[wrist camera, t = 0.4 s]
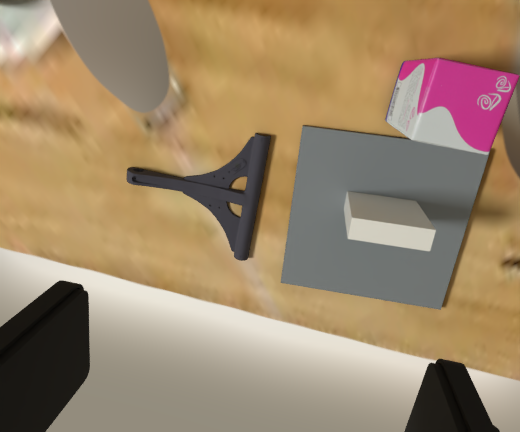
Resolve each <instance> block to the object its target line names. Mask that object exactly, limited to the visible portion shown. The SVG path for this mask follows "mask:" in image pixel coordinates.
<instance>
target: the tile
mask: <svg viewBox="0 0 520 432" xmlns="http://www.w3.org/2000/svg"><path fill="white" fill-rule="evenodd" d="M344 215H345V223H346V230H347V238H348V239H352V240H358V241H365V242H371V243H378V244H384V245H391V246H397V247H404V248H410V249H417V250H423V251H430V250H431V246H432V243H433V239H434V236H435V232H436V229H435V228H434V226H433V225H432V223H431V222H430V221H429V219H428V218H427V216H426V215H425V213H424V212H423V210H422V209H421V207H420V206H419V204H418V203H417V201H414V200H406V199H399V198H392V197H385V196H378V195H371V194H364V193H357V192H350V191H347V195H346V200H345V205H344Z"/></svg>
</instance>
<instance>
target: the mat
mask: <svg viewBox="0 0 520 432" xmlns="http://www.w3.org/2000/svg"><path fill="white" fill-rule="evenodd" d="M489 153H490V151H489ZM488 156H489V154H488V155H484V154H479V153H474V152H469V151H463V150H458V149H453V148H447V147H442V146H437V145H432V144H427V143H422V142H417V141H413V140H411V139H406V138H399V137H391V136H383V135H375V134H367V133H359V132H351V131H344V130H336V129H328V128H320V127H312V126H304V125H303V127H302V135H301V142H300V149H299V156H298V163H297V170H296V177H295V185H294V192H293V199H292V206H291V213H290V220H289V227H288V234H287V242H286V249H285V256H284V263H283V270H282V277H281V283H286V284H292V285H298V286H304V287H310V288H316V289H321V290H327V291H333V292H339V293H345V294H351V295H357V296H363V297H369V298H375V299H381V300H387V301H393V302H398V303H404V304H410V305H416V306H422V307H428V308H434V309H440V310H441V307H442V304H443V301H444V297H445V294H446V291H447V288H448V285H449V281H450V278H451V275H452V272H453V268H454V265H455V262H456V259H457V256H458V252H459V249H460V246H461V243H462V240H463V236H464V233H465V230H466V227H467V223H468V220H469V217H470V214H471V211H472V207H473V204H474V201H475V198H476V195H477V191H478V188H479V185H480V182H481V179H482V175H483V172H484V169H485V166H486V162H487V159H488ZM347 191H350V192H357V193H364V194H371V195H378V196H385V197H392V198H399V199H406V200H414V201H417V203H418V204H419V206H420V207H421V209H422V210H423V212H424V213H425V215H426V216H427V218H428V219H429V221H430V222H431V223H432V225H433V226H434V228H435V229H436V232H435V236H434V239H433V243H432V246H431V250H430V251H423V250H417V249H410V248H404V247H397V246H391V245H384V244H378V243H371V242H365V241H358V240H352V239H348V238H347V230H346V223H345V215H344V205H345V200H346V195H347Z"/></svg>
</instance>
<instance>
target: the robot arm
mask: <svg viewBox="0 0 520 432" xmlns="http://www.w3.org/2000/svg"><path fill="white" fill-rule="evenodd" d="M88 304H89V303H88V293H87V291H84V288H83V286H82V285H81V284H77V283H72V282H67V281H59V282H57V283H55V284H54V285H53V286H52V287H50V288H49V289H48V290H47V291H45V292H44V293H43V294H42V295H40V296H39V297H38V298H37V299H35V300H34V301H33V302H32V303H30V304H29V305H28V306H27V307H25V308H24V309H23V310H21V311H20V312H19V313H18V314H16V315H15V316H14V317H13V318H11V319H10V320H9V321H8V322H6V323H5V324H4V325H3V326H1V327H0V432H46V430H47V429H48V428H49V426H50V425H51V424H52V423H53V421H54V420H55V419H56V417H57V416H58V415H59V413H60V412H61V411H62V410H63V408H64V407H65V406H66V404H67V403H68V402H69V401H70V399H71V398H72V397H73V395H74V394H75V393H76V391H77V390H78V389H79V388H80V386H81V385H82V384H83V382H84V381H85V379H86V378H87V376H88V373H89V368H90V357H89V356H90V354H89V305H88ZM405 432H500V431H499V430H498V428H496V427H495V426H494V425H492V422H491V420H490V418H489V416H488V414H487V412H486V410H485V407H484V406H483V403H482V401H481V399H480V397H479V395H478V393H477V391H476V388H475V386H474V384H473V382H472V380H471V378H470V376H469V373H468V371H467V369H466V367H465V366H464V364H462V363H458V362H453V361H448V360H444V359H438V360H437V361H436V363H435V364H434V363H430V364H429V365H428V367H427V370H426V373H425V375H424V378H423V381H422V385H421V387H420V390H419V393H418V395H417V398H416V401H415V404H414V406H413V409H412V412H411V415H410V418H409V420H408V423H407V426H406V429H405Z"/></svg>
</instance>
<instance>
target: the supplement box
mask: <svg viewBox="0 0 520 432" xmlns="http://www.w3.org/2000/svg"><path fill="white" fill-rule="evenodd" d="M518 79H519V75H517V74H513V73H508V72H504V71H499V70H494V69H489V68H485V67H480V66H476V65H471V64H467V63H462V62H457V61H453V60H448V59H443V58H432V59H421V60H410V61H404V62H403V64H402V66H401V69H400V72H399V75H398V78H397V82H396V85H395V88H394V92H393V95H392V98H391V102H390V105H389V109H388V112H387V116H386V119H385V121H386V122H387V123H389V124H390V125H392V126H393V127H394V128H396V129H397V130H399V131H400V132H401V133H403V134H404V135H405V136H407V137H408V138H409V139H411V140H413V141H417V142H422V143H427V144H432V145H437V146H442V147H447V148H453V149H458V150H463V151H469V152H474V153H479V154H484V155H488V154H489V151H490V149H491V147H492V144H493V142H494V139H495V136H496V134H497V131H498V129H499V126H500V124H501V121H502V119H503V116H504V114H505V111H506V109H507V107H508V104H509V101H510V99H511V96H512V94H513V91H514V89H515V86H516V84H517V81H518Z"/></svg>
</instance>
